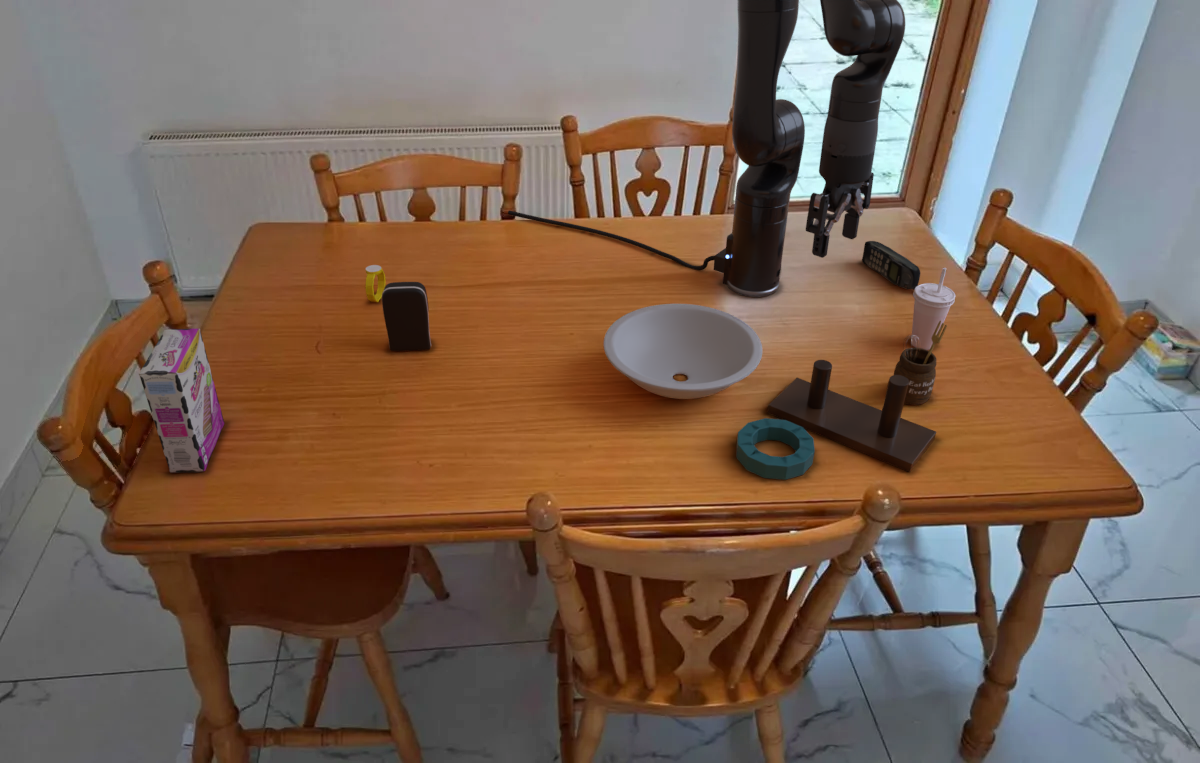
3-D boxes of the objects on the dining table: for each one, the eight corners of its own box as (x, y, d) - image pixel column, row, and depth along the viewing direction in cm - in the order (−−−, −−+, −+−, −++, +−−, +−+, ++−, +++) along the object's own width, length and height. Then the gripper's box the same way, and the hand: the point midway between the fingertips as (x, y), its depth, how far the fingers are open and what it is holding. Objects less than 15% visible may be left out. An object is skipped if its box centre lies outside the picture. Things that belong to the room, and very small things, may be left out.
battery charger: (433, 338, 154) (426, 277, 147) (431, 351, 151) (424, 289, 144) (391, 340, 153) (382, 278, 147) (388, 352, 150) (379, 290, 144)
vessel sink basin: (628, 437, 133) (630, 400, 129) (586, 349, 151) (585, 314, 148) (783, 411, 138) (789, 374, 134) (723, 328, 157) (727, 294, 153)
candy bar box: (207, 472, 126) (176, 373, 116) (169, 474, 125) (135, 374, 116) (227, 422, 135) (200, 326, 125) (192, 424, 135) (162, 327, 125)
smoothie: (944, 356, 150) (964, 280, 142) (903, 351, 151) (921, 275, 143) (940, 335, 155) (959, 260, 147) (901, 331, 156) (918, 256, 148)
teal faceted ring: (722, 459, 129) (723, 445, 127) (759, 422, 136) (761, 409, 134) (789, 489, 124) (791, 476, 122) (824, 450, 130) (827, 437, 129)
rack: (767, 412, 138) (775, 353, 132) (795, 385, 143) (804, 327, 137) (909, 472, 127) (925, 410, 121) (934, 439, 133) (950, 379, 127)
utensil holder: (881, 389, 143) (896, 322, 136) (914, 379, 145) (930, 313, 138) (906, 410, 138) (923, 342, 131) (940, 400, 140) (958, 332, 134)
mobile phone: (862, 240, 174) (919, 272, 163) (874, 237, 175) (932, 269, 164) (858, 264, 176) (914, 297, 165) (870, 260, 178) (926, 294, 166)
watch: (379, 307, 162) (374, 277, 158) (363, 306, 162) (359, 276, 159) (391, 290, 167) (386, 261, 163) (376, 289, 167) (371, 260, 164)
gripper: (851, 126, 141) (837, 225, 150) (799, 151, 133) (787, 254, 142) (896, 138, 137) (879, 238, 146) (845, 164, 128) (830, 269, 137)
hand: (834, 246), depth 144 cm, fingers open, 8 cm apart
